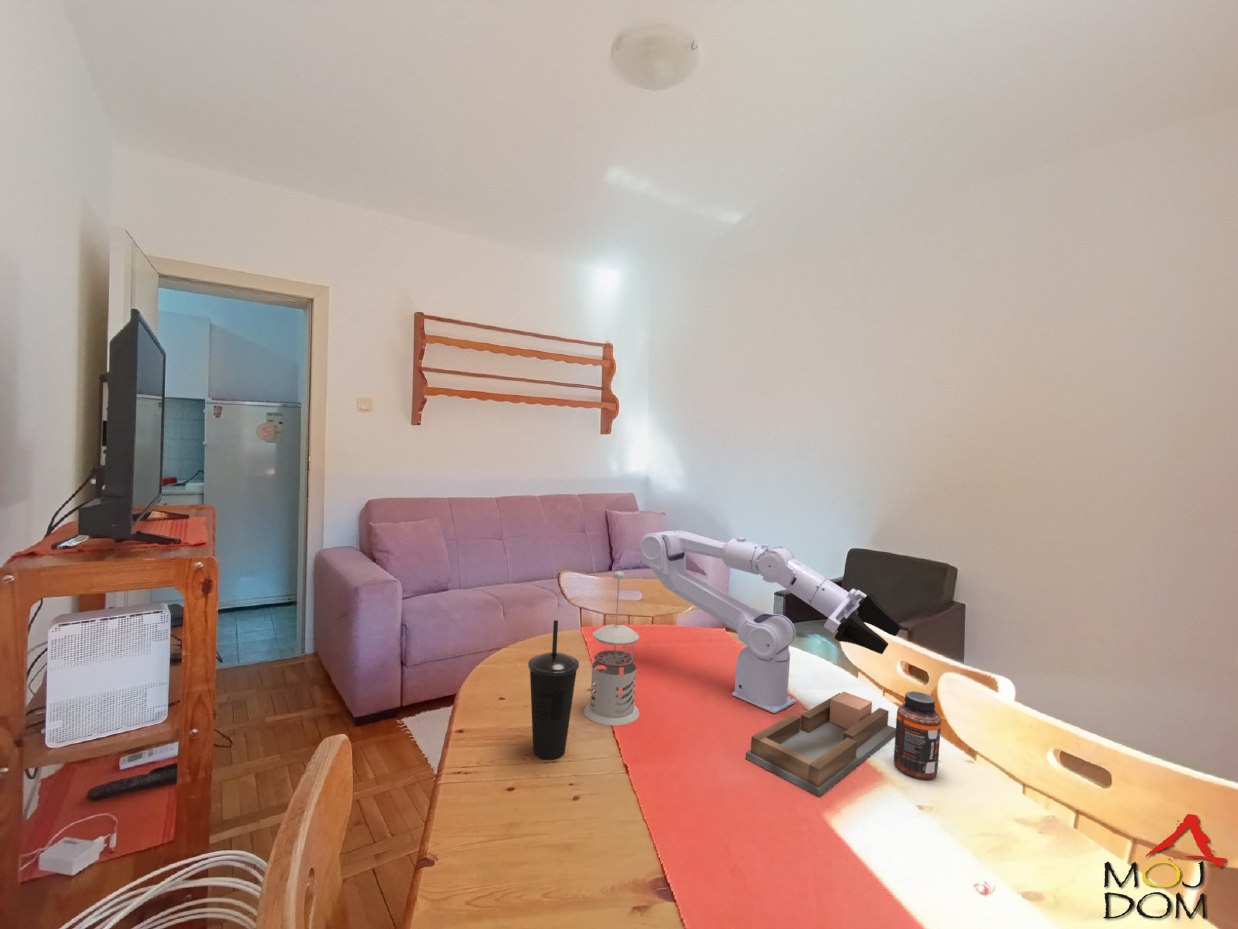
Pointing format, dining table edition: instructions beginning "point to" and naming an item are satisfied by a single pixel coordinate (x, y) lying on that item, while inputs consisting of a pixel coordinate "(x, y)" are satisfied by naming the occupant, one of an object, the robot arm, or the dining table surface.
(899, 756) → the supplement bottle
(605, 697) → the french press
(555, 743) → the drinking cup
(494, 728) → the dining table surface
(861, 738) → the walled tray
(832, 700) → the block
